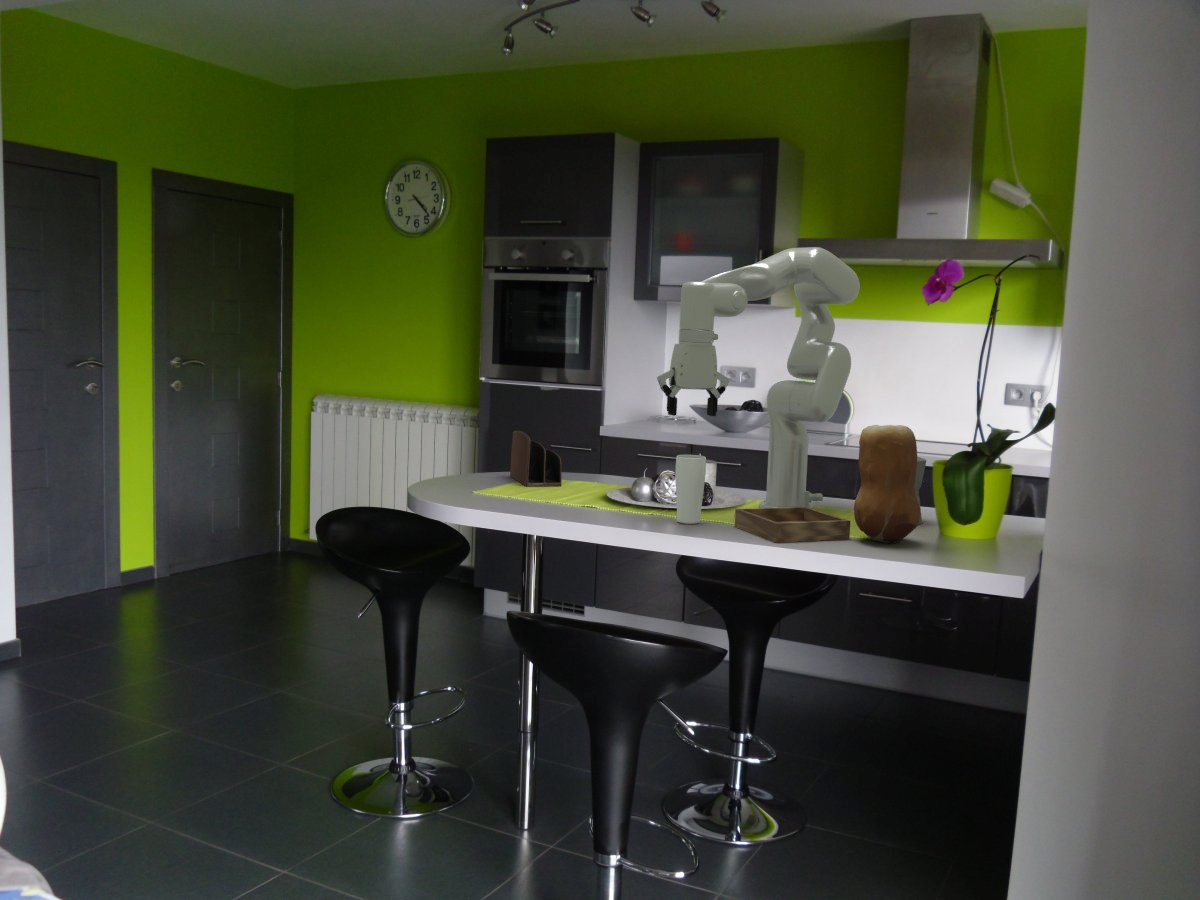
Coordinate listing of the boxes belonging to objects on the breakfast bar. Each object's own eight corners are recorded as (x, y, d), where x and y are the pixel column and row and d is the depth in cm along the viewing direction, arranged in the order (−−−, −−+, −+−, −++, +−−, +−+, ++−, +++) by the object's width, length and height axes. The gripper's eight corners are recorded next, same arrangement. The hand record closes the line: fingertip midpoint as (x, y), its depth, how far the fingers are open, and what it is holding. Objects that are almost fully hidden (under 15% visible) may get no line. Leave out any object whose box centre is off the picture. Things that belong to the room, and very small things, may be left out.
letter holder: (525, 487, 290) (527, 435, 288) (509, 477, 309) (510, 427, 307) (561, 487, 293) (563, 435, 291) (543, 476, 312) (545, 427, 310)
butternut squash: (872, 533, 239) (879, 420, 236) (929, 543, 230) (937, 425, 227) (839, 540, 229) (846, 422, 226) (896, 551, 220) (904, 428, 217)
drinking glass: (701, 525, 241) (704, 459, 239) (671, 523, 242) (674, 457, 241) (705, 520, 248) (707, 455, 246) (675, 518, 249) (678, 453, 247)
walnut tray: (804, 523, 248) (805, 506, 247) (849, 539, 231) (850, 520, 231) (734, 526, 241) (735, 509, 241) (775, 542, 225) (776, 523, 224)
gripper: (722, 339, 247) (718, 414, 248) (653, 336, 241) (649, 413, 242) (738, 340, 240) (734, 417, 242) (667, 337, 234) (663, 416, 235)
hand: (691, 415), depth 242 cm, fingers open, 9 cm apart
